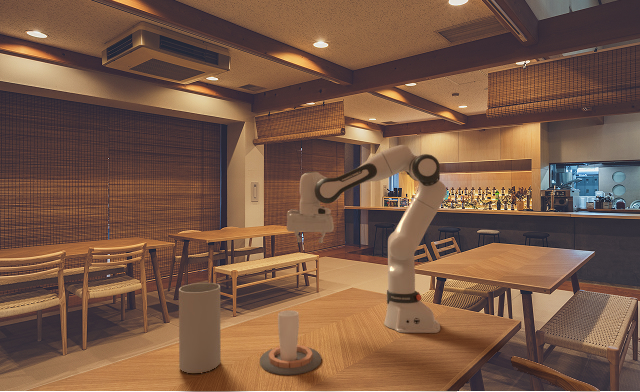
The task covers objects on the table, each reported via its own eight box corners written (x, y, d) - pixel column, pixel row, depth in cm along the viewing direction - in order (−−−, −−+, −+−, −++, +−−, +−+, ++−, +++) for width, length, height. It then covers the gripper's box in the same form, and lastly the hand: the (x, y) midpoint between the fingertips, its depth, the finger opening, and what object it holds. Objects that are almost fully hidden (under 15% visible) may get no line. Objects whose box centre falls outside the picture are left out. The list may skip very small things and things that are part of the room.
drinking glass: (296, 364, 117) (296, 316, 117) (275, 363, 118) (275, 315, 118) (301, 355, 124) (300, 310, 124) (281, 354, 125) (281, 309, 125)
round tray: (326, 350, 129) (326, 344, 129) (312, 378, 110) (312, 370, 110) (272, 345, 134) (272, 339, 134) (249, 371, 115) (249, 363, 114)
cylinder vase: (182, 378, 110) (181, 294, 110) (177, 362, 121) (176, 285, 121) (224, 369, 116) (224, 289, 116) (216, 354, 127) (215, 281, 127)
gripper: (284, 210, 158) (284, 242, 158) (331, 210, 153) (331, 243, 153) (289, 209, 164) (289, 240, 164) (334, 209, 159) (334, 241, 159)
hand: (310, 242), depth 158 cm, fingers open, 8 cm apart
